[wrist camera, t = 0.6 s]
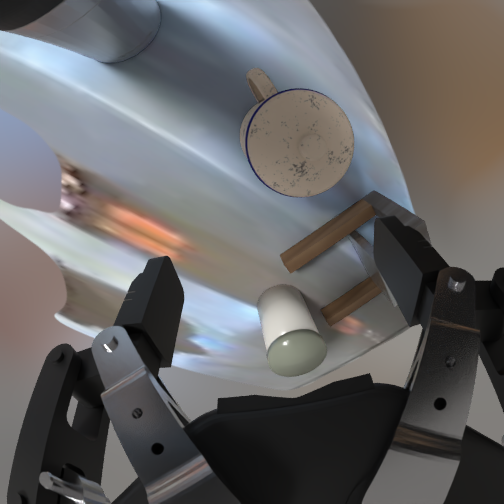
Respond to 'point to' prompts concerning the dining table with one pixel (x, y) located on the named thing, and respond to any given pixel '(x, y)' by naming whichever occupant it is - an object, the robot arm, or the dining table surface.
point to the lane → (336, 232)
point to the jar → (289, 332)
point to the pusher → (370, 263)
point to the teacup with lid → (295, 138)
